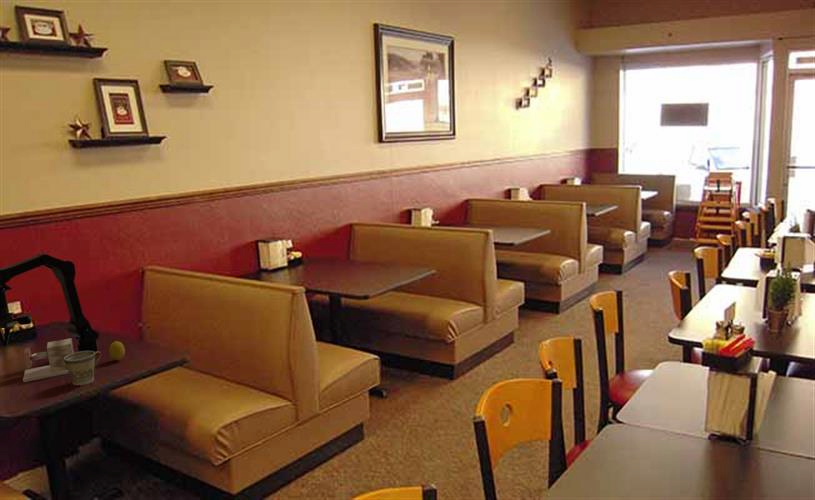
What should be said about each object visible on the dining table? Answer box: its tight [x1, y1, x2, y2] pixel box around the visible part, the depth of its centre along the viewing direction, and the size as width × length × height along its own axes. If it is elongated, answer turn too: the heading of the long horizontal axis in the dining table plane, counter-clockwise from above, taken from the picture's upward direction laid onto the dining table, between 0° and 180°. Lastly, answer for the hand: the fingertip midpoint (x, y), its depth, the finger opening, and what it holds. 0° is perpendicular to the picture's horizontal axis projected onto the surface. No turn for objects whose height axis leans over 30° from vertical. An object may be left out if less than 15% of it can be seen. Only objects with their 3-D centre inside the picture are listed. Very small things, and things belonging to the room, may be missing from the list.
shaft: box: [23, 347, 49, 369], centre depth 243 cm, size 10×6×6 cm, turn 116°
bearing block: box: [46, 337, 75, 372], centre depth 246 cm, size 8×8×10 cm
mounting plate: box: [22, 364, 69, 383], centre depth 245 cm, size 18×12×1 cm, turn 116°
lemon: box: [108, 340, 126, 362], centre depth 253 cm, size 6×6×8 cm
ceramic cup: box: [64, 350, 102, 387], centre depth 233 cm, size 13×10×10 cm
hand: (5, 345), depth 237 cm, fingers closed
